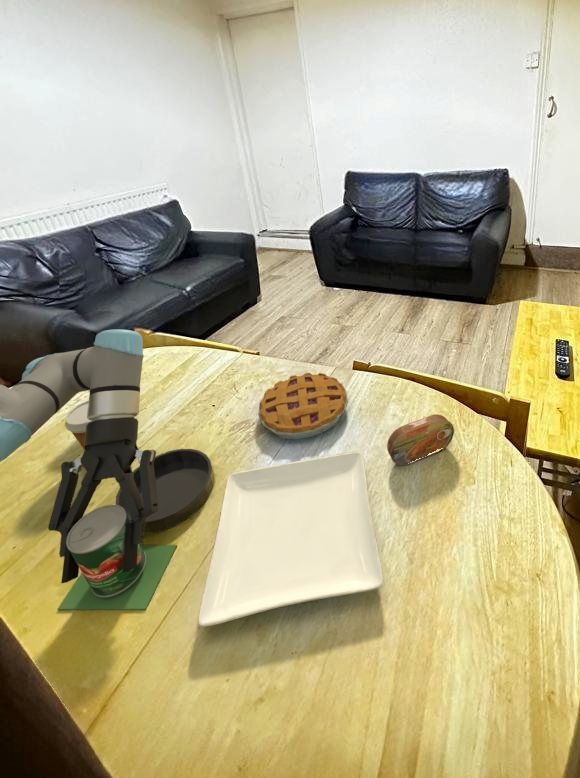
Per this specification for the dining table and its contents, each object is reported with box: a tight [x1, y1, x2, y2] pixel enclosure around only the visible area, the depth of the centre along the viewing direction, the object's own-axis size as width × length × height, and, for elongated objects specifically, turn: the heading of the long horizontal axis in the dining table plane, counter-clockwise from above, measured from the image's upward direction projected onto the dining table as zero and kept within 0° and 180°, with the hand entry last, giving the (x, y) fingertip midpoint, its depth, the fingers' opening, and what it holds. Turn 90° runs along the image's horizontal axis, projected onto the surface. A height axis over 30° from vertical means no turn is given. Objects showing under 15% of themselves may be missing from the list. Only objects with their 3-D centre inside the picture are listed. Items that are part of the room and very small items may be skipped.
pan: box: [114, 448, 216, 534], centre depth 82 cm, size 17×17×3 cm
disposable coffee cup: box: [64, 399, 91, 451], centre depth 91 cm, size 10×10×12 cm
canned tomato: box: [66, 504, 146, 597], centre depth 65 cm, size 8×8×11 cm
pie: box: [257, 372, 349, 440], centre depth 102 cm, size 22×22×5 cm
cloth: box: [57, 544, 178, 611], centre depth 68 cm, size 14×10×1 cm
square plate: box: [197, 450, 384, 628], centre depth 73 cm, size 27×27×4 cm
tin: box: [386, 413, 455, 466], centre depth 87 cm, size 15×3×8 cm, turn 114°
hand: (100, 574), depth 63 cm, fingers closed on canned tomato, 8 cm apart
